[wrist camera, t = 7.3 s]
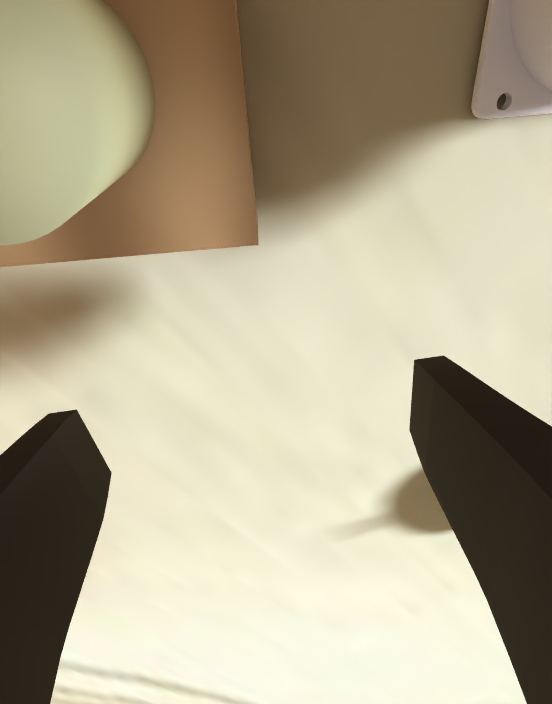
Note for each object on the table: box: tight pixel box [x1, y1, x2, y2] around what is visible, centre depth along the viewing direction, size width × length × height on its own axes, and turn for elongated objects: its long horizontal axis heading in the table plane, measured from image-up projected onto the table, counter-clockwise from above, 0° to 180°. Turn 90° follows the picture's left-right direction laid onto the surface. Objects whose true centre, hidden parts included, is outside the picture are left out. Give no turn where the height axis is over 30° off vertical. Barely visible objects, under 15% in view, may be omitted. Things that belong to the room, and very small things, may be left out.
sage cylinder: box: [0, 0, 155, 245], centre depth 9 cm, size 5×5×6 cm
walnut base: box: [0, 0, 258, 267], centre depth 13 cm, size 10×10×3 cm
